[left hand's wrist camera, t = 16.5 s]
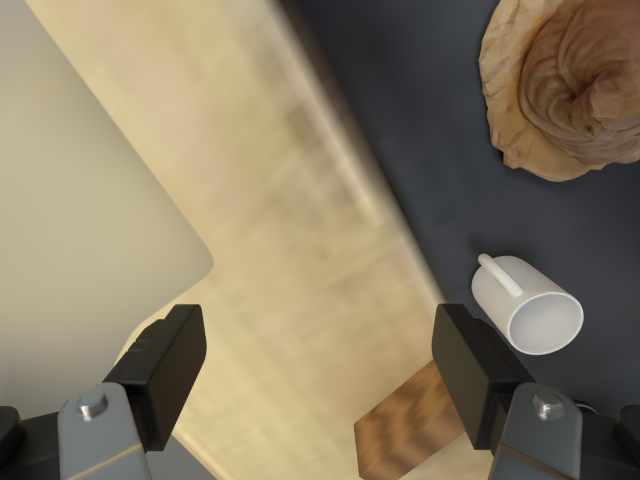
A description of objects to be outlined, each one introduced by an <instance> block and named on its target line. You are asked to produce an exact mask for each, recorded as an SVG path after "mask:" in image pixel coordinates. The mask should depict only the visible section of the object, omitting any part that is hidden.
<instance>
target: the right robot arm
mask: <svg viewBox="0 0 640 480" xmlns="http://www.w3.org/2000/svg"><path fill="white" fill-rule="evenodd" d="M574 402H575V404H576V405H577V406H578V407H579V409H580V411H583V412H587V413H591V414H596V415H598V413H597V412H596V411H595V410H594V409H593V408H592V407H591V406H590V405H588V404H587V403H584V402H580V401H574Z"/></svg>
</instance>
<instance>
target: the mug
mask: <svg viewBox="0 0 640 480" xmlns="http://www.w3.org/2000/svg"><path fill="white" fill-rule="evenodd" d="M478 261H479V263H480V264H481V265H482V266H481V267H480V268H479V269H478V270H477V271H476V273H475V275H474V277H473V280H472V293H473V295H474V298H475V299H476V301H477V302H478V304H479V305H480V306H481V307H482V309H483V310H484V311H485V312H486V314H487V315H488V316H489V317H490V319H491V320H492V321H493V322H494V323H495V325H496V326H497V327H498V328H499V330H500V331H501V332H502V333H503V335H504V336H505V337H506V338H507V339H508V341H509V342H510V343H511V344H512V345H513V346H514V347H515V348H516V349H517V350H519V351H521V352H523V353H526V354H532V355H542V354H547V353H551V352H554V351H557V350H559V349H561V348H562V347H564V346H566V345H567V344H568V343H569V342H571V341H572V340H573V339H574V338H575V336H576V335H577V334H578V332H579V331H580V329H581V326H582V323H583V310H582V307H581V305H580V303H579V302H578V301H577V300H576V299H575V298H574V297H573V296H571V295H570V294H569V293H567V292H566V291H565V290H563V289H562V288H560V287H559V286H558V285H556V284H555V283H554V282H552V281H551V280H550V279H548V278H547V277H546V276H544V275H543V274H542V273H540V272H539V271H538V270H536V269H535V268H534V267H532V266H531V265H530V264H528V263H527V262H525V261H523V260H522V259H519V258H517V257H513V256H500V257H496V258H493V259H492V258H491V257H490V256H489V255H487V254H481V255H479V257H478Z"/></svg>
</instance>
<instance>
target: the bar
mask: <svg viewBox="0 0 640 480" xmlns="http://www.w3.org/2000/svg"><path fill="white" fill-rule="evenodd" d="M465 431H466V430H465V428H464V426H463V423H462V421H461V419H460V417H459V414H458V412H457V410H456V408H455V406H454V403H453V401H452V399H451V397H450V395H449V392H448V390H447V388H446V386H445V384H444V381H443V379H442V377H441V375H440V373H439V370H438V368H437V366H436V364H435V361H434V360H432V361H431V362H430V363H429V364H428V365H426V366H425V367H424V368H423V369H421V370H420V371H419V372H418V373H417V374H415V375H414V376H413V377H412V378H410V379H409V380H408V381H407V382H406V383H404V384H403V385H402V386H401V387H399V388H398V389H397V390H396V391H395V392H393V393H392V394H391V395H390V396H388V397H387V398H386V399H385V400H384V401H382V402H381V403H380V404H379V405H377V406H376V407H375V408H374V409H373V410H371V411H370V412H369V413H368V414H366V415H365V416H364V417H363V418H362V419H360V420H359V421H358V422H357V423H355V424H354V432H355V441H356V451H357V460H358V469H359V477H361V478H363V479H364V480H398V479H400V478H401V477H402V476H404V475H405V474H406V473H408V472H409V471H411V470H412V469H413V468H415V467H416V466H418V465H419V464H420V463H422V462H423V461H425V460H426V459H427V458H429V457H430V456H432V455H433V454H434V453H436V452H437V451H439V450H440V449H441V448H443V447H444V446H445V445H447V444H448V443H450V442H451V441H452V440H454V439H455V438H457V437H458V436H459V435H461V434H462V433H464V432H465Z"/></svg>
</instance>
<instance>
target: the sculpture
mask: <svg viewBox="0 0 640 480" xmlns="http://www.w3.org/2000/svg"><path fill="white" fill-rule="evenodd" d="M478 63H479V70H480V76H481V82H482V85H483V94H484V95H485V99H486V104H487V106H488V111H487V119H488V123H489V126H490V135H491V143H492V145H493V146H494V147H496V148H498V149H499V150H501V151H503V152H504V164H505V165H507V166H509V167H511V168H512V169H515V168H518V167H521V168H523V169H525V170H527V171H529V172H531V173H533V174H535V175H537V176H539V177H542V178H544V179H546V180H549V181H556V182H561V181H566V180H570V179H574V178H576V177H579V176H581V175H583V174H585V173H586V172H587V171H589V170H590V169H594V170H601V169H602V168H603V167H604V166H605V165H606V164H610V163H612V162H616V163H625V164H628V163H632V162H636V161H637V160H639V159H640V0H501V1H500V3H499V4H498V6H497V7H496V9H495V10H494V12H493V15H492V18H491V20H490V23H489V25H488V28H487V30H486V33H485V35H484V37H483V40H482V48H481V53H480V57H479V62H478Z"/></svg>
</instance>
